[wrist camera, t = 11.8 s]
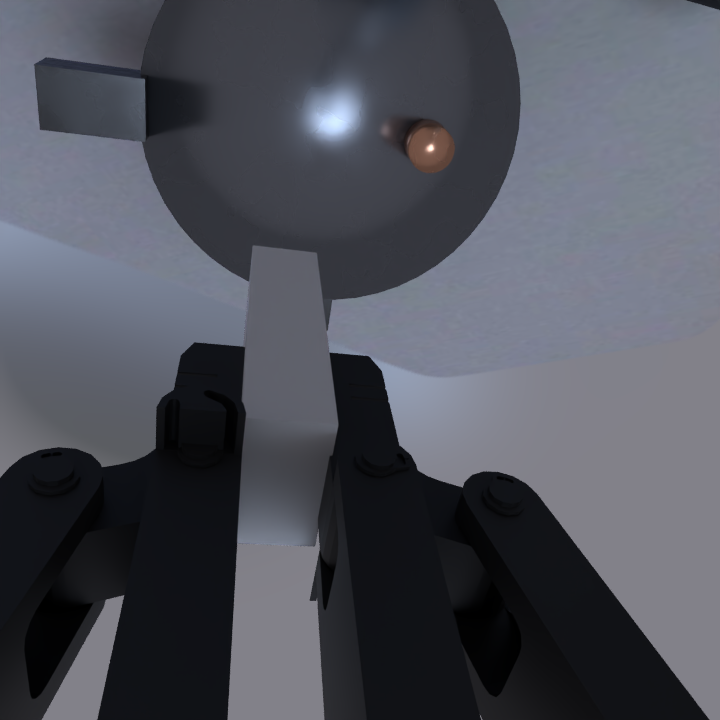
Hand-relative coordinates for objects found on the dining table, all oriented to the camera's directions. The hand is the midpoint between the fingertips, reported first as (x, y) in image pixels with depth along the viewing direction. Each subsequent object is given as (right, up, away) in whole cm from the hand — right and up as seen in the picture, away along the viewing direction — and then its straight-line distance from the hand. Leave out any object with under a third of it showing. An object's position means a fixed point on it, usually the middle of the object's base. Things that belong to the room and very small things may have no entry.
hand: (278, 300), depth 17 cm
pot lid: (-2, +11, +20) cm, 24 cm away
